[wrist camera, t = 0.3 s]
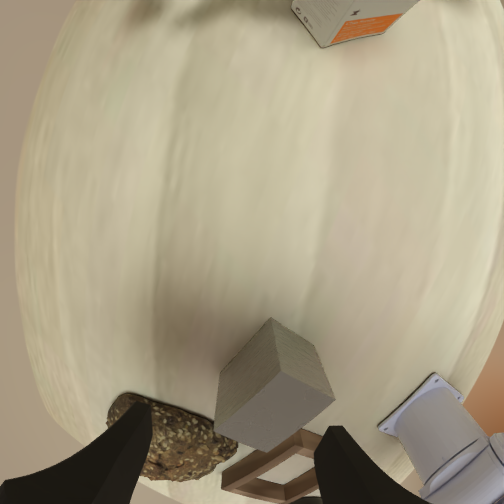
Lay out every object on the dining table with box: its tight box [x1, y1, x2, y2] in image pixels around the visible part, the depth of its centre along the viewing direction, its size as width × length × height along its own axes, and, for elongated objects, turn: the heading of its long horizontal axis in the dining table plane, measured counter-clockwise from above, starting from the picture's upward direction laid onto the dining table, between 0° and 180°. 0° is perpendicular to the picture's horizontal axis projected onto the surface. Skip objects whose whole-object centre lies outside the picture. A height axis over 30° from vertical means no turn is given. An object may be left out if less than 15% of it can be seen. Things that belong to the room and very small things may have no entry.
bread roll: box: [106, 394, 238, 482], centre depth 19 cm, size 13×12×5 cm
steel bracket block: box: [213, 318, 336, 453], centre depth 16 cm, size 6×4×6 cm, turn 143°
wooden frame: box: [221, 429, 323, 504], centre depth 21 cm, size 9×11×2 cm
